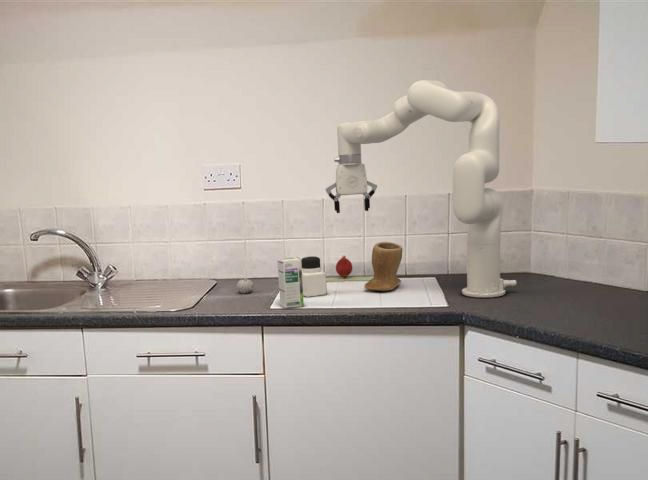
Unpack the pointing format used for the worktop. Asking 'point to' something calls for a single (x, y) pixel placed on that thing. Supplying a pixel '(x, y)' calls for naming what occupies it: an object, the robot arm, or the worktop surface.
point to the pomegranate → (344, 267)
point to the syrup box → (290, 282)
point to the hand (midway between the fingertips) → (352, 211)
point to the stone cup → (385, 266)
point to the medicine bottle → (313, 277)
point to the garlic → (245, 286)
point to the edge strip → (349, 278)
